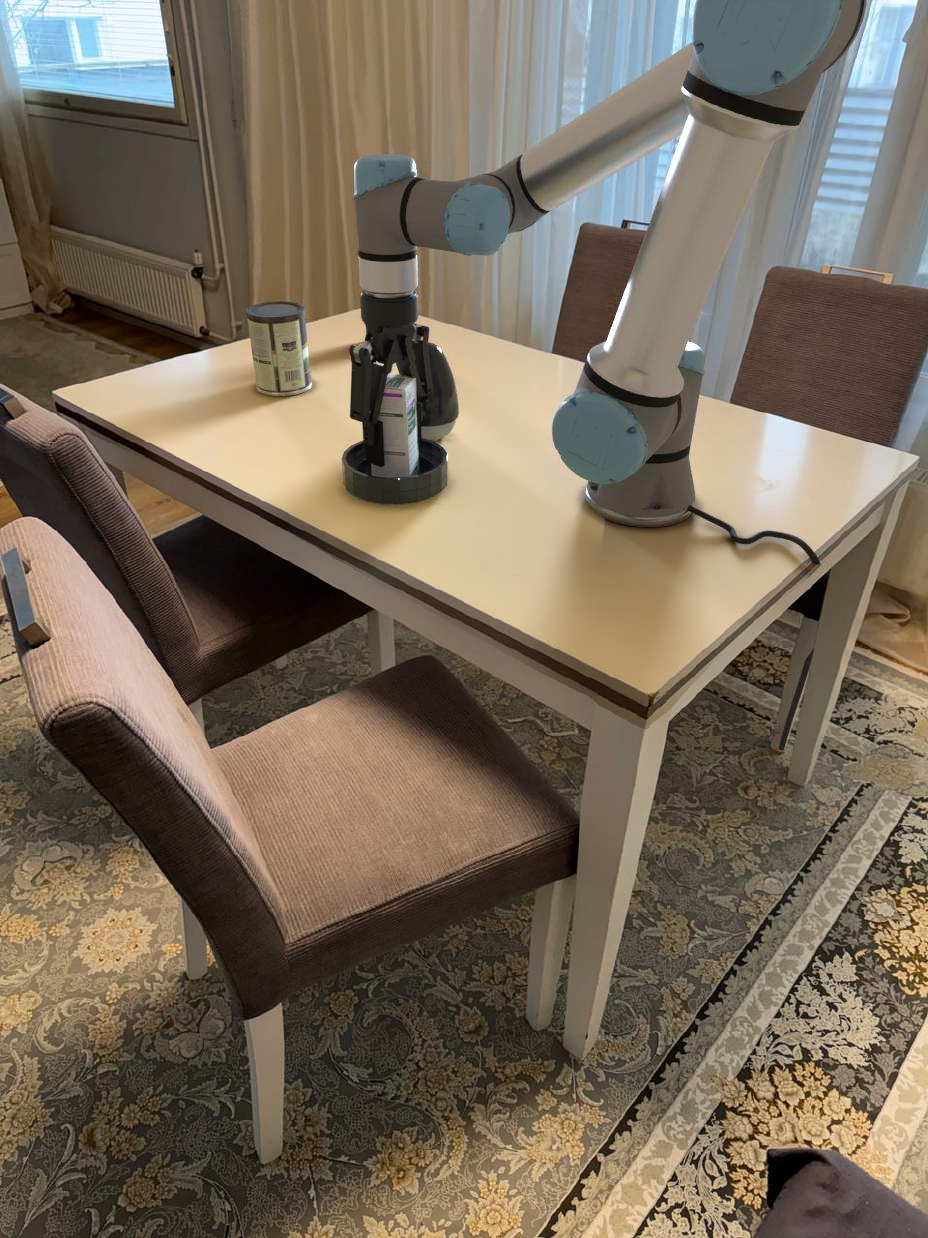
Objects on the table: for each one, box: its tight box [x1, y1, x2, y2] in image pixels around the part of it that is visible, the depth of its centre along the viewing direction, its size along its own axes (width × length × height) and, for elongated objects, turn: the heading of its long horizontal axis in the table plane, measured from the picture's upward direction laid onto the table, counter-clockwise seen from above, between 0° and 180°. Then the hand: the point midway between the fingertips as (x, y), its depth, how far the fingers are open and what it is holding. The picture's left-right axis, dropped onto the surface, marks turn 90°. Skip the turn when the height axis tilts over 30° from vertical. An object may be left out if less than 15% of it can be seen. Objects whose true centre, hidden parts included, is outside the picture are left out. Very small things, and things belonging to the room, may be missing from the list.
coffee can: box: [245, 300, 313, 397], centre depth 158 cm, size 10×10×14 cm
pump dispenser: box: [421, 341, 460, 442], centre depth 139 cm, size 10×10×15 cm
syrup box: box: [369, 373, 419, 478], centre depth 124 cm, size 6×6×14 cm
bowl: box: [341, 438, 449, 506], centre depth 127 cm, size 15×15×4 cm
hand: (394, 454), depth 126 cm, fingers closed on syrup box, 7 cm apart
